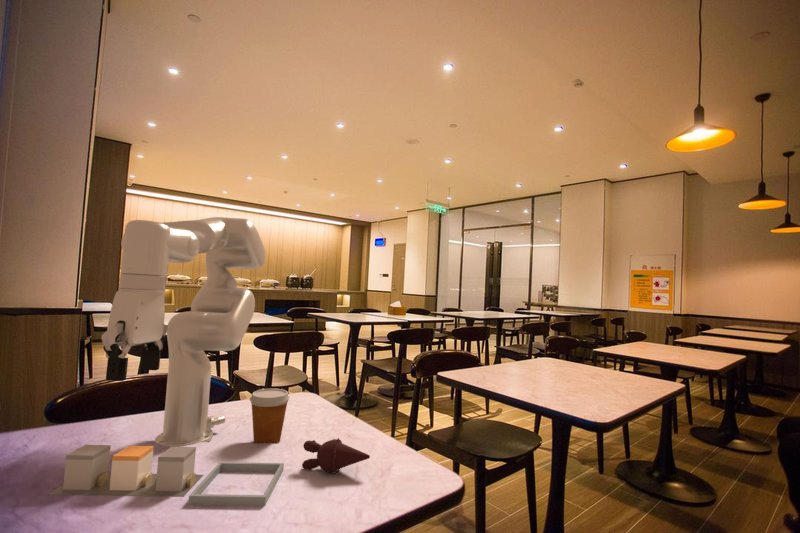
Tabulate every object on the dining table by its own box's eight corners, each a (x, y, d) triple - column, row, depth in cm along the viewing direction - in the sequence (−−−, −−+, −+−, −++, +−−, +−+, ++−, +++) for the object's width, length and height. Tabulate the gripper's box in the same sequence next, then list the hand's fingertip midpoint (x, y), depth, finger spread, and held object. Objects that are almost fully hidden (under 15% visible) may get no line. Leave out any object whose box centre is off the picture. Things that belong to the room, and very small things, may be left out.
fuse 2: (169, 478, 74) (171, 446, 74) (193, 478, 74) (196, 447, 74) (155, 490, 69) (158, 456, 70) (181, 491, 69) (184, 457, 70)
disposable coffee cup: (263, 452, 89) (267, 400, 90) (238, 442, 94) (242, 393, 95) (294, 440, 97) (297, 392, 98) (269, 431, 102) (273, 386, 103)
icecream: (373, 436, 86) (310, 436, 88) (366, 440, 79) (297, 439, 81) (373, 471, 83) (308, 469, 85) (365, 478, 76) (294, 476, 79)
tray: (218, 473, 78) (219, 461, 78) (283, 475, 79) (283, 463, 79) (187, 510, 65) (189, 495, 65) (264, 511, 66) (265, 497, 66)
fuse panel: (82, 477, 74) (83, 464, 74) (203, 479, 76) (204, 466, 76) (47, 500, 66) (48, 484, 66) (183, 502, 68) (184, 487, 68)
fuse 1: (82, 476, 73) (85, 444, 73) (107, 477, 73) (110, 445, 73) (62, 489, 68) (66, 455, 69) (89, 489, 68) (93, 455, 69)
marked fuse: (126, 477, 73) (129, 445, 74) (150, 478, 73) (153, 446, 74) (109, 490, 69) (112, 455, 69) (135, 490, 69) (138, 456, 69)
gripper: (151, 285, 82) (143, 365, 81) (88, 282, 65) (76, 384, 64) (186, 286, 82) (179, 367, 81) (132, 284, 65) (122, 386, 64)
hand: (134, 374), depth 72 cm, fingers open, 9 cm apart
